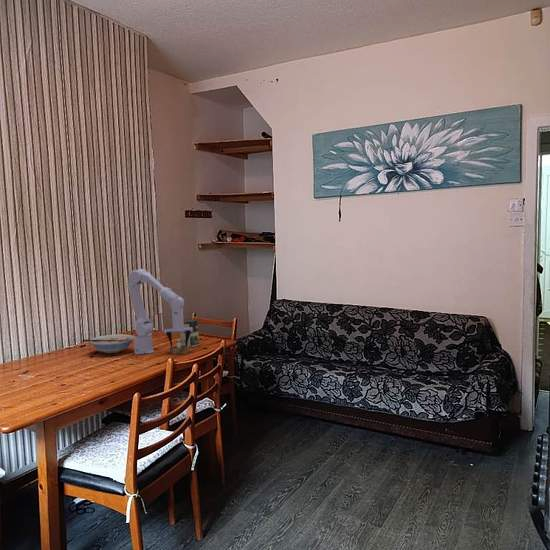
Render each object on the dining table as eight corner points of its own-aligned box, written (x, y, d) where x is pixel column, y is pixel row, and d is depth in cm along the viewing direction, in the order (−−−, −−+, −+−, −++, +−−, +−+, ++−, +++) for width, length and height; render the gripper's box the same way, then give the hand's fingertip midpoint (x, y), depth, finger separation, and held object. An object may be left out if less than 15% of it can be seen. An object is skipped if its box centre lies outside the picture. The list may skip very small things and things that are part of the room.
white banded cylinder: (176, 353, 256) (176, 340, 255) (176, 352, 258) (176, 339, 257) (181, 353, 256) (181, 340, 255) (181, 352, 258) (181, 339, 258)
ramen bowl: (143, 347, 272) (142, 332, 271) (126, 357, 249) (125, 341, 249) (100, 347, 274) (99, 332, 274) (79, 357, 252) (78, 341, 251)
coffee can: (199, 342, 279) (197, 318, 278) (199, 346, 269) (197, 321, 268) (180, 344, 277) (179, 319, 276) (180, 348, 267) (178, 322, 266)
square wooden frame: (174, 355, 252) (174, 349, 251) (169, 352, 259) (169, 346, 258) (189, 353, 256) (188, 347, 255) (183, 350, 263) (183, 344, 262)
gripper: (164, 322, 250) (165, 348, 251) (192, 320, 254) (193, 346, 255) (163, 320, 257) (164, 345, 258) (191, 318, 260) (192, 343, 262)
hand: (178, 345), depth 257 cm, fingers open, 7 cm apart
